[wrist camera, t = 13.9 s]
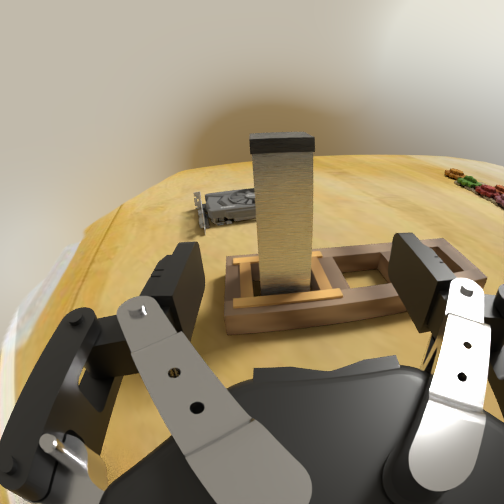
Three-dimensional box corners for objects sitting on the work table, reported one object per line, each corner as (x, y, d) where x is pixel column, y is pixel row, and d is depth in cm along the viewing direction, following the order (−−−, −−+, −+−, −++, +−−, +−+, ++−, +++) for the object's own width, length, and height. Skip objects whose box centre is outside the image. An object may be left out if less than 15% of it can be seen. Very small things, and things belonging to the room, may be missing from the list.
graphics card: (194, 216, 37) (193, 190, 47) (198, 241, 39) (195, 210, 49) (315, 202, 39) (288, 179, 50) (314, 226, 41) (289, 199, 51)
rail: (439, 252, 30) (443, 236, 29) (481, 293, 22) (488, 275, 21) (228, 273, 30) (226, 254, 29) (227, 334, 22) (223, 314, 21)
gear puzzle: (431, 175, 68) (433, 161, 66) (465, 176, 69) (466, 164, 67) (510, 216, 41) (514, 198, 39) (536, 214, 42) (539, 199, 40)
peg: (303, 281, 28) (303, 131, 21) (310, 309, 24) (314, 137, 17) (259, 284, 28) (250, 133, 21) (260, 312, 24) (249, 139, 17)
